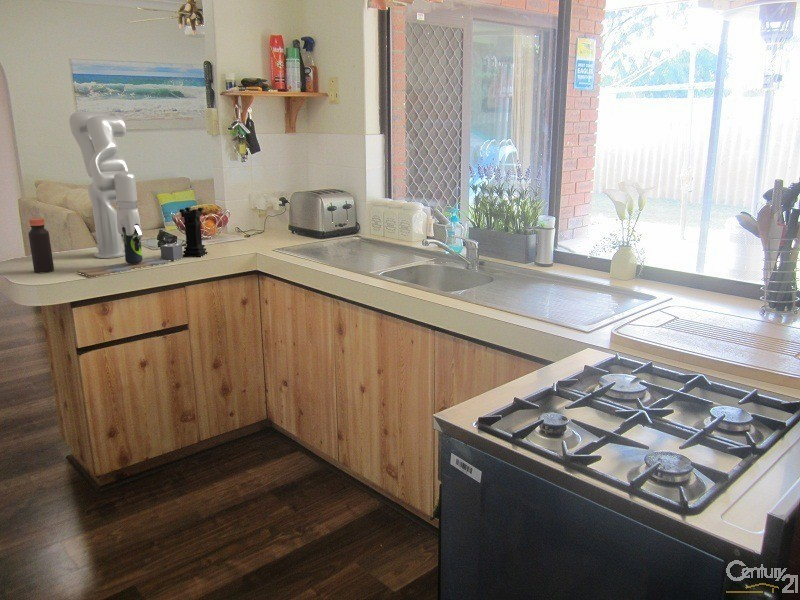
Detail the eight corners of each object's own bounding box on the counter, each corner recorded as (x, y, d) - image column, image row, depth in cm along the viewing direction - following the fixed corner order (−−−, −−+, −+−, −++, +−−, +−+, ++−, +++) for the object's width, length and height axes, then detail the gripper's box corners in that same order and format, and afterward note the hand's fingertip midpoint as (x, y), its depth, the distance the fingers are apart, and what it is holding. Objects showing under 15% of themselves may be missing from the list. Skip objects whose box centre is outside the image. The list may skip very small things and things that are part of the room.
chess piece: (207, 253, 279) (204, 207, 274) (200, 257, 272) (196, 210, 266) (190, 253, 280) (186, 207, 275) (182, 256, 272) (178, 209, 267)
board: (77, 273, 242) (77, 271, 242) (154, 259, 267) (154, 257, 266) (91, 277, 237) (90, 275, 236) (168, 263, 261) (168, 260, 260)
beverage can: (123, 262, 254) (118, 224, 250) (138, 259, 258) (134, 222, 254) (129, 264, 250) (125, 226, 246) (145, 262, 254) (141, 224, 250)
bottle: (31, 271, 246) (23, 219, 241) (50, 268, 251) (42, 217, 245) (38, 274, 242) (29, 221, 236) (57, 271, 246) (49, 219, 241)
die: (161, 260, 266) (160, 245, 264) (171, 257, 271) (169, 243, 269) (174, 261, 264) (172, 246, 262) (183, 258, 269) (181, 244, 268)
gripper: (106, 204, 250) (112, 250, 255) (130, 208, 240) (135, 256, 245) (124, 202, 256) (129, 247, 261) (148, 206, 246) (153, 253, 251)
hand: (132, 251), depth 253 cm, fingers closed on beverage can, 4 cm apart
